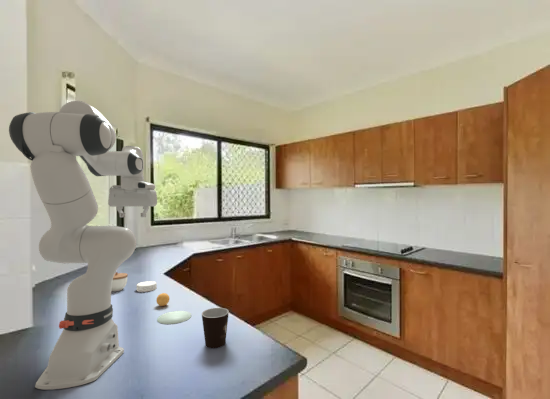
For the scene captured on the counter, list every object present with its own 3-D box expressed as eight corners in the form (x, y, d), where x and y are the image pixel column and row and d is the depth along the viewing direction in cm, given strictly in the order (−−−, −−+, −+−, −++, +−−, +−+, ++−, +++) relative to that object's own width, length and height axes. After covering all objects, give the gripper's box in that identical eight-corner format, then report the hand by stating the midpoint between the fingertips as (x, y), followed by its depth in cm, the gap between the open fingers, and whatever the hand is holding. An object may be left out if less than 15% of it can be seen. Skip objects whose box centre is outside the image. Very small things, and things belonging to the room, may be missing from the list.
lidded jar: (120, 292, 147) (120, 274, 147) (100, 292, 147) (100, 274, 148) (131, 286, 158) (131, 270, 158) (112, 286, 158) (112, 270, 158)
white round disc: (149, 286, 160) (149, 279, 160) (160, 288, 155) (160, 282, 155) (132, 290, 151) (132, 284, 151) (144, 293, 146) (144, 286, 146)
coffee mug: (215, 353, 86) (215, 319, 86) (196, 345, 90) (196, 314, 91) (240, 337, 96) (239, 307, 96) (221, 331, 100) (221, 303, 100)
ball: (168, 307, 125) (168, 294, 125) (155, 308, 124) (155, 295, 124) (170, 303, 131) (170, 291, 131) (157, 304, 129) (157, 292, 130)
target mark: (189, 322, 109) (189, 321, 109) (154, 325, 106) (154, 325, 106) (192, 310, 121) (192, 309, 121) (160, 312, 119) (160, 312, 119)
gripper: (104, 184, 119) (104, 217, 119) (151, 184, 117) (151, 217, 117) (114, 185, 125) (114, 216, 125) (158, 185, 123) (159, 216, 123)
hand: (132, 217), depth 121 cm, fingers open, 8 cm apart
